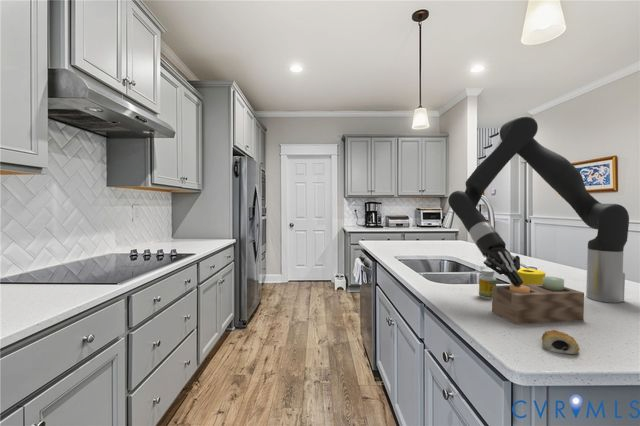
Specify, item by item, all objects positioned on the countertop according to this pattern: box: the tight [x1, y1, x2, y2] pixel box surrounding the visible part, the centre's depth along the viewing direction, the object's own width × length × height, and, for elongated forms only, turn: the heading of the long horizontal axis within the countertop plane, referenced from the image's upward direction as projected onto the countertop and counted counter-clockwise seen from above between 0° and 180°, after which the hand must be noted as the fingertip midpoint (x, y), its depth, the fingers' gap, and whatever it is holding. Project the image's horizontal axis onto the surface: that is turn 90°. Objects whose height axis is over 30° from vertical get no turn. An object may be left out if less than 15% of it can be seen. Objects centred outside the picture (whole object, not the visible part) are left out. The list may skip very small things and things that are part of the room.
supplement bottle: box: [478, 268, 497, 300], centre depth 111 cm, size 5×5×10 cm
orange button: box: [509, 284, 530, 293], centre depth 91 cm, size 5×5×3 cm
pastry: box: [541, 329, 580, 356], centre depth 73 cm, size 9×7×4 cm
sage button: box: [543, 276, 565, 291], centre depth 93 cm, size 5×5×3 cm
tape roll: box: [510, 267, 546, 285], centre depth 111 cm, size 10×10×9 cm
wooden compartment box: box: [491, 284, 585, 325], centre depth 92 cm, size 21×10×8 cm, turn 97°
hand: (519, 284), depth 91 cm, fingers closed
